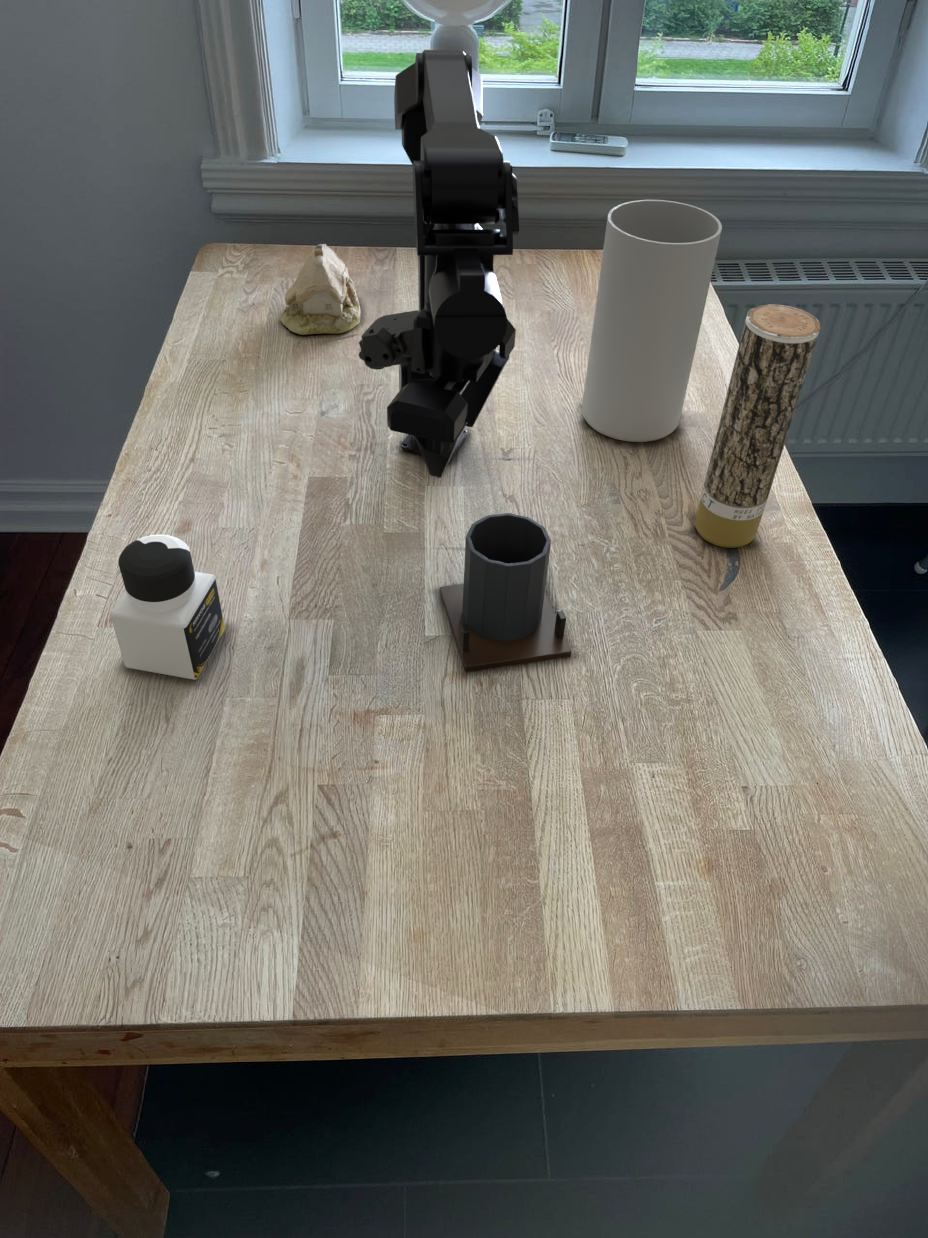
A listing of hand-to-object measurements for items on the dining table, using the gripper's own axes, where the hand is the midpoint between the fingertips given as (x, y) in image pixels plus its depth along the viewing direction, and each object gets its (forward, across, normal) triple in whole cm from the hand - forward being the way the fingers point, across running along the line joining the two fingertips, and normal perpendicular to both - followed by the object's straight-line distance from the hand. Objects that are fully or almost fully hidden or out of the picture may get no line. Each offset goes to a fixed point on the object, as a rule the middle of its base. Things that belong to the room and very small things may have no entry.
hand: (452, 450), depth 95 cm
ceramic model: (+14, -44, -35) cm, 58 cm away
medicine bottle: (+13, +24, -19) cm, 33 cm away
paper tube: (+13, -14, +27) cm, 33 cm away
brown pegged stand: (+12, +8, +9) cm, 17 cm away
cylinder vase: (+13, -33, +12) cm, 38 cm away
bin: (+12, +8, +9) cm, 17 cm away
